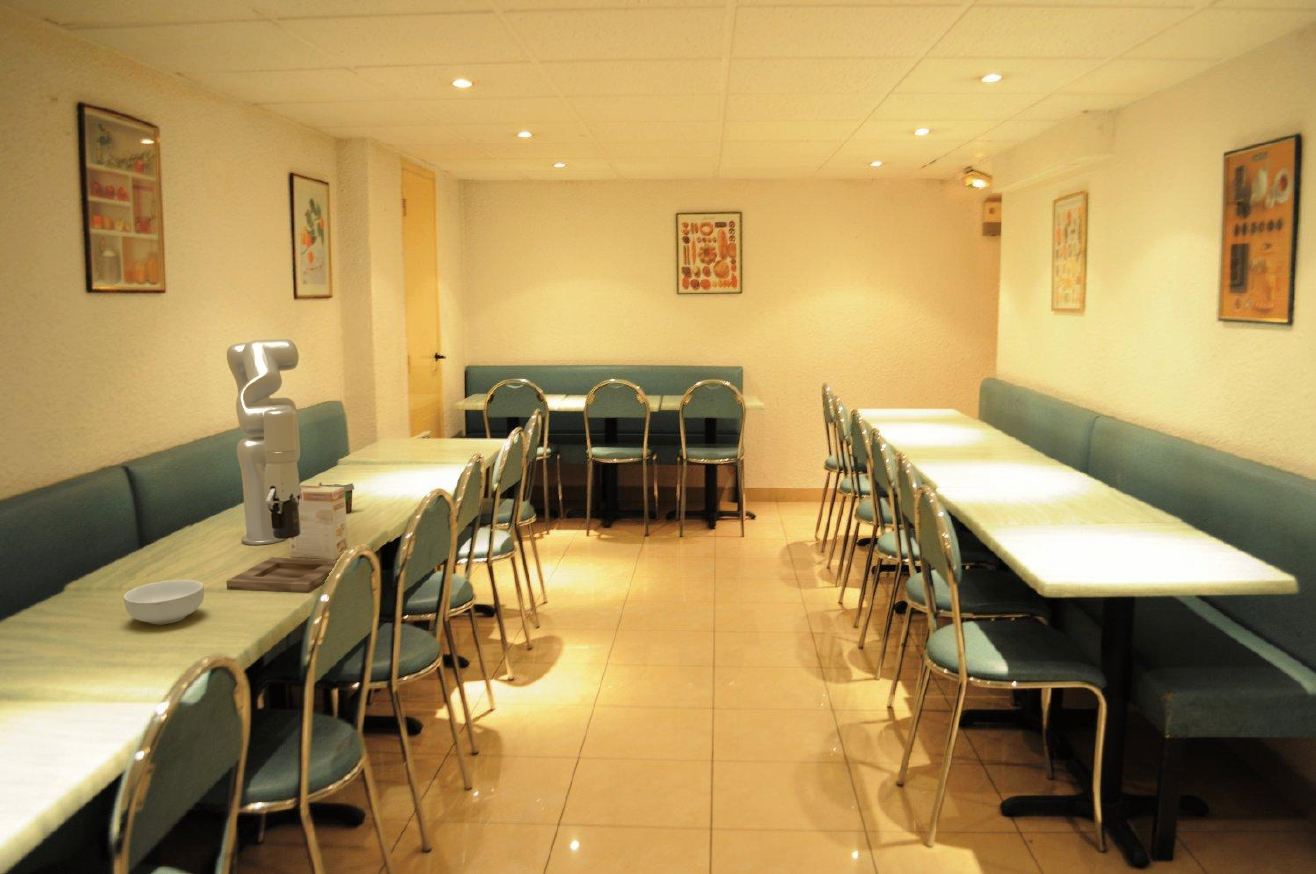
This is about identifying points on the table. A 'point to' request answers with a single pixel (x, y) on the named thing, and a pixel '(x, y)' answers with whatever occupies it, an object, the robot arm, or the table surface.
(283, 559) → the wooden tray
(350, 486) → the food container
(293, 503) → the supplement bottle
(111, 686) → the table surface
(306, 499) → the coffeecake box
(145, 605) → the cereal bowl
